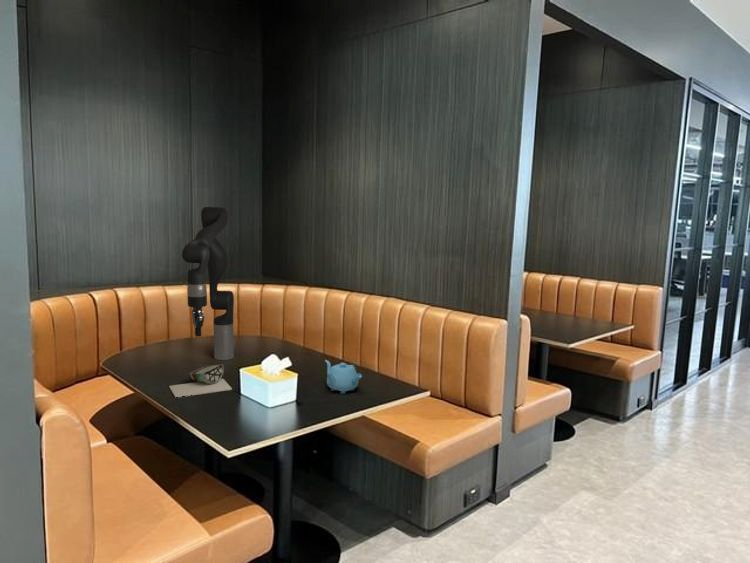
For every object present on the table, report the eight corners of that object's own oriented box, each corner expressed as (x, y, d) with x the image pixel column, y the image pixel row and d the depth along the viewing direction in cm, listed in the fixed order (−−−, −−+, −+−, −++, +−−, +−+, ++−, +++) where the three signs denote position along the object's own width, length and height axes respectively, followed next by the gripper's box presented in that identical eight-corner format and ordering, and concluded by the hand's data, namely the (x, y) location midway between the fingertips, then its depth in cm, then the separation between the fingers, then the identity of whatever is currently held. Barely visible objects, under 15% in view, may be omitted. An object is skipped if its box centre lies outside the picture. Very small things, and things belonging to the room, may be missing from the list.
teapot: (323, 395, 219) (323, 368, 217) (324, 384, 232) (324, 358, 231) (361, 395, 220) (361, 368, 218) (360, 384, 233) (360, 359, 232)
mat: (169, 387, 224) (169, 385, 224) (223, 379, 235) (223, 378, 235) (175, 397, 212) (175, 396, 212) (231, 389, 223) (231, 388, 223)
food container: (189, 388, 227) (207, 388, 223) (185, 374, 227) (203, 373, 222) (210, 378, 238) (227, 377, 234) (206, 365, 237) (224, 364, 233)
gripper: (210, 296, 218) (211, 338, 221) (203, 291, 230) (203, 331, 232) (191, 297, 215) (192, 340, 217) (184, 292, 226) (185, 333, 229)
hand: (198, 335), depth 225 cm, fingers closed
